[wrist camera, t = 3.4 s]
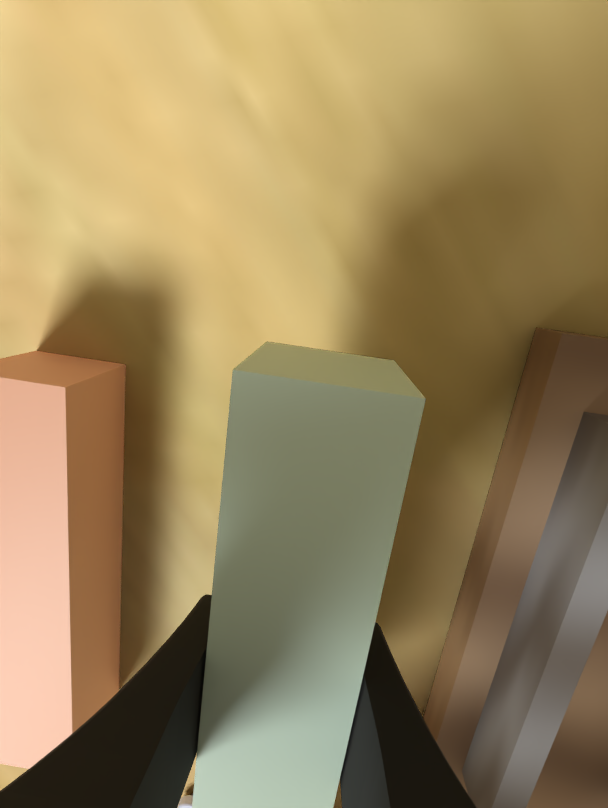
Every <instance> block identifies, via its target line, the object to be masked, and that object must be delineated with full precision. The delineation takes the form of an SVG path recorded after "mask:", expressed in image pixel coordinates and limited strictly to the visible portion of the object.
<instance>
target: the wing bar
mask: <svg viewBox="0 0 608 808" xmlns="http://www.w3.org/2000/svg"><path fill="white" fill-rule="evenodd" d="M125 374H126V364H120V363H114V362H107V361H100V360H94V359H87V358H81V357H74V356H68V355H61V354H54V353H48V352H41V351H33V352H29V353H24V354H20V355H15V356H11V357H6V358H2V359H0V764H5V765H11V766H16V767H22V768H27V769H30V768H31V767H32V766H33V765H35V764H36V763H37V762H38V761H40V760H41V759H42V758H43V757H45V756H46V755H47V754H48V753H49V752H51V751H52V750H53V749H54V748H56V747H57V746H58V745H59V744H60V743H62V742H63V741H64V740H65V739H67V738H68V737H69V736H70V735H71V734H72V733H74V732H75V731H76V730H77V729H78V728H79V727H80V726H82V725H83V724H84V723H85V722H86V721H87V720H88V719H90V718H91V717H92V716H93V715H94V714H95V713H96V712H97V711H98V710H99V709H100V708H102V707H103V706H104V705H105V704H106V703H107V702H108V701H109V700H110V699H111V698H112V697H113V696H114V695H115V694H116V693H117V692H118V691H119V667H120V619H121V570H122V521H123V472H124V423H125Z"/></svg>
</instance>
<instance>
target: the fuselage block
mask: <svg viewBox="0 0 608 808" xmlns="http://www.w3.org/2000/svg"><path fill="white" fill-rule="evenodd" d="M425 400H426V398H425V397H424V396H423V395H422V393H421V392H420V391H419V390H418V389H417V387H416V386H415V385H414V384H413V383H412V381H411V380H410V379H409V378H408V377H407V375H406V374H405V373H404V372H403V371H402V369H401V368H400V367H399V366H398V364H397V363H396V362H395V361H394V360H388V359H382V358H375V357H368V356H361V355H355V354H348V353H341V352H335V351H328V350H321V349H314V348H308V347H301V346H294V345H287V344H281V343H274V342H266V343H264V344H263V345H262V346H261V347H260V348H258V349H257V350H256V351H255V352H254V353H252V354H251V355H250V356H249V357H248V358H246V359H245V360H244V361H243V362H242V363H240V364H239V365H238V366H237V367H236V368H234V369H233V374H232V385H231V396H230V406H229V417H228V428H227V438H226V449H225V460H224V470H223V481H222V492H221V502H220V513H219V524H218V534H217V545H216V556H215V567H214V577H213V588H212V599H211V609H210V620H209V631H208V641H207V652H206V663H205V673H204V684H203V695H202V705H201V716H200V727H199V737H198V748H197V759H196V770H195V780H194V791H193V802H192V808H333V807H334V802H335V798H336V793H337V789H338V785H339V780H340V776H341V771H342V767H343V762H344V758H345V754H346V749H347V745H348V740H349V736H350V732H351V727H352V723H353V718H354V714H355V710H356V705H357V701H358V696H359V692H360V687H361V683H362V679H363V674H364V670H365V665H366V661H367V657H368V652H369V648H370V643H371V639H372V634H373V630H374V626H375V621H376V617H377V612H378V608H379V604H380V599H381V595H382V590H383V586H384V581H385V577H386V573H387V568H388V564H389V559H390V555H391V551H392V546H393V542H394V537H395V533H396V528H397V524H398V520H399V515H400V511H401V506H402V502H403V498H404V493H405V489H406V484H407V480H408V475H409V471H410V467H411V462H412V458H413V453H414V449H415V445H416V440H417V436H418V431H419V427H420V422H421V418H422V414H423V409H424V405H425Z"/></svg>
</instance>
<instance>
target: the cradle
mask: <svg viewBox="0 0 608 808" xmlns="http://www.w3.org/2000/svg"><path fill="white" fill-rule="evenodd" d="M423 719H424V721H425V723H426V724H427V726H428V728H429V730H430V732H431V734H432V735H433V737H434V739H435V741H436V742H437V744H438V746H439V747H440V749H441V751H442V753H443V754H444V756H445V758H446V760H447V761H448V763H449V765H450V766H451V768H452V770H453V771H454V773H455V774H456V776H457V778H458V779H459V781H460V782H461V784H462V786H463V787H464V789H465V790H466V792H467V793H468V795H469V796H470V798H471V799H472V801H473V803H474V804H475V806H476V807H477V808H608V338H605V337H598V336H591V335H584V334H577V333H570V332H563V331H556V330H549V329H542V328H536V330H535V333H534V337H533V340H532V344H531V347H530V351H529V354H528V358H527V361H526V365H525V368H524V371H523V375H522V378H521V382H520V385H519V389H518V392H517V396H516V399H515V403H514V406H513V409H512V413H511V416H510V420H509V423H508V427H507V430H506V434H505V437H504V441H503V444H502V447H501V451H500V454H499V458H498V461H497V465H496V468H495V472H494V475H493V479H492V482H491V485H490V489H489V492H488V496H487V499H486V503H485V506H484V510H483V513H482V517H481V520H480V523H479V527H478V530H477V534H476V537H475V541H474V544H473V548H472V551H471V555H470V558H469V561H468V565H467V568H466V572H465V575H464V579H463V582H462V586H461V589H460V593H459V596H458V599H457V603H456V606H455V610H454V613H453V617H452V620H451V624H450V627H449V631H448V634H447V637H446V641H445V644H444V648H443V651H442V655H441V658H440V662H439V665H438V669H437V672H436V676H435V679H434V682H433V686H432V689H431V693H430V696H429V700H428V703H427V707H426V710H425V714H424V717H423Z"/></svg>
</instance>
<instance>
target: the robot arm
mask: <svg viewBox="0 0 608 808" xmlns="http://www.w3.org/2000/svg"><path fill="white" fill-rule="evenodd" d="M211 599H212V595H205V596H203V597H201V599H200V600H199V601H198V603H197V604H196V606H195V607H194V608H193V610H192V611H191V612H190V613H189V615H188V616H187V617H186V618H185V620H184V621H183V622H182V623H181V625H180V626H179V627H178V628H177V629H176V630H175V632H174V633H173V634H172V635H171V636H170V638H169V639H168V640H167V641H166V642H165V643H164V644H163V645H162V646H161V648H160V649H159V650H158V651H157V652H156V653H155V654H154V655H153V656H152V658H151V659H150V660H149V661H148V662H147V663H146V664H145V665H144V666H143V667H142V668H141V669H140V670H139V671H138V672H137V673H136V674H135V675H134V676H133V677H132V678H131V679H130V680H129V681H128V682H127V683H126V684H125V685H124V686H123V687H122V688H121V689H120V690H119V691H118V692H117V693H116V694H115V695H114V696H113V697H112V698H111V699H110V700H109V701H108V702H107V703H106V704H105V705H104V706H103V707H102V708H100V709H99V710H98V711H97V712H96V713H95V714H94V715H93V716H92V717H91V718H90V719H88V720H87V721H86V722H85V723H84V724H83V725H82V726H80V727H79V728H78V729H77V730H76V731H75V732H74V733H72V734H71V735H70V736H69V737H68V738H67V739H65V740H64V741H63V742H62V743H60V744H59V745H58V746H57V747H56V748H54V749H53V750H52V751H51V752H49V753H48V754H47V755H46V756H45V757H43V758H42V759H41V760H40V761H38V762H37V763H36V764H35V765H33V766H32V767H31V768H30V769H28V770H27V771H26V772H25V773H23V774H22V775H21V776H19V777H18V778H17V779H16V780H14V781H13V782H12V783H10V784H9V785H8V786H6V787H5V788H4V789H2V790H1V791H0V808H177V807H178V808H192V802H193V795H186V796H183V797H182V798H181V795H182V792H183V790H184V787H185V784H186V781H187V778H188V776H189V773H190V770H191V767H192V764H193V761H194V759H195V756H196V753H197V748H198V737H199V727H200V716H201V705H202V695H203V684H204V673H205V663H206V652H207V641H208V631H209V620H210V609H211ZM340 782H341V798H342V808H477V807H476V806H475V804H474V803H473V801H472V799H471V798H470V796H469V795H468V793H467V792H466V790H465V789H464V787H463V786H462V784H461V782H460V781H459V779H458V778H457V776H456V774H455V773H454V771H453V770H452V768H451V766H450V765H449V763H448V761H447V760H446V758H445V756H444V754H443V753H442V751H441V749H440V747H439V746H438V744H437V742H436V741H435V739H434V737H433V735H432V734H431V732H430V730H429V728H428V726H427V724H426V723H425V721H424V719H423V717H422V715H421V713H420V711H419V709H418V707H417V706H416V704H415V702H414V700H413V698H412V696H411V694H410V692H409V690H408V688H407V686H406V684H405V682H404V680H403V678H402V676H401V674H400V671H399V669H398V667H397V665H396V663H395V661H394V658H393V656H392V654H391V652H390V649H389V647H388V645H387V642H386V640H385V637H384V635H383V632H382V630H381V627H380V626H379V625H378V623H376V622H375V626H374V630H373V634H372V639H371V643H370V648H369V652H368V657H367V661H366V665H365V670H364V674H363V679H362V683H361V687H360V692H359V696H358V701H357V705H356V710H355V714H354V718H353V723H352V727H351V732H350V736H349V740H348V745H347V749H346V754H345V758H344V762H343V767H342V771H341V776H340ZM180 798H181V799H180ZM179 801H180V802H179ZM178 804H179V805H178Z"/></svg>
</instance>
